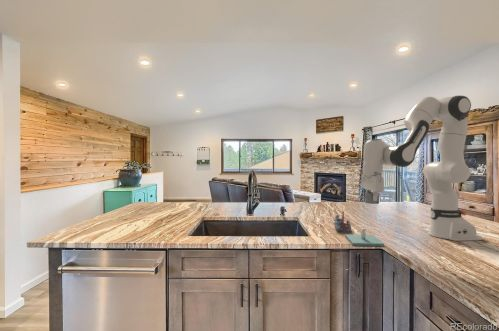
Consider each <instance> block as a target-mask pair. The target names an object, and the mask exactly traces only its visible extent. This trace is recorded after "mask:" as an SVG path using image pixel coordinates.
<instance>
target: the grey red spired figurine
mask: <svg viewBox="0 0 499 331" xmlns="http://www.w3.org/2000/svg"><path fill="white" fill-rule="evenodd" d="M344 214H345V211H342V216H341V217H340V215H339V214H335V217H334V221H333V225H334V227H333V228H334V229H335V230H337V231H338V232H339V233H351V231H352V226H351V223H350V220H347V221H346V222H345V217H344V216H345V215H344Z"/></svg>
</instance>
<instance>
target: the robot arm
mask: <svg viewBox="0 0 499 331" xmlns="http://www.w3.org/2000/svg"><path fill="white" fill-rule="evenodd" d="M471 108H472V103H471V100H470V98H469V97H468V96H466V95H454V96H447V97H442V98H439V99H438V98H436V97H433V96H426V97H423V98H421V99H420V100H419V101H418V102H416V103H415V104H414V105H413V107H412V108H411V110H409V112H408V113H407V114H406V116H405V117H404V120H403V123H404V126H405V128H406V129H407V130H408V131H409V132H410V133H409V135H408V136H407V138H405V141H404V142H403V143H401V144H399V145H389V144H388V143H386V142H384V141H383V140H382V138H376V139H369V140H366V141H365V143H364V147H363V165H362V169H361V170H360V175H361V188H362V189H365V192H373V197H372V200H373V201H377V197H378V194H379V195H380V193H381V194H382V193H384V191H385V182H384V181H385V180H384V177H383V174H384V173H383V172H384V166H391V167H400V168H403V167H404V168H407V167H409V166H410V165H411V164H412V163H414V160H415V157H416V154H417V152H418V150H419V148H420V146H421V145H422V143H423V141H424V139H425V138H426V136H427V134H428V132H429V130H430V125H431V123H432V121H433V122H435V121H441V122H442V126H441V128H440V129H441V130H440V132H439V137H438V141H437V146H436V149H437V152H438V153H439V156H440V160H439V161H432V162H429V163H427V164H426V165H424V167H423V170H422V174H423V176H424V178H426V180H427V182H428V183H427V184H428V185H429V189H430V193H431V207H430V225H429V229H428V232H427V235H429V236H432V237H435V238H440V239H445V240H450V241H453V242H454V241H455V242H458V241H459V242H460V241H483V239H484V238H483V237H482V236H481V235H479V234H477V229H476V227H475V225H474V224H472V223H471V222H469V221H468V220H466V219H465V218H464V217H463V216H466V215H468V213H467V211H465V210H459V195H458V193H457V191H456V190H455V189H454V188H453V187H454V186H453V185H452V184H459V183H465V182H466V181H467V180H468V179H469V178H470V177H471V170H470V168H469V166H468V165H467V164H466V162H465V157H464V156H465V155H464V152H465V151H464V150H465V144H466V139H467V135H468V122H469V121H468V118H467V116H468V115H469V113H470V112H471Z"/></svg>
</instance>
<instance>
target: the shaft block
mask: <svg viewBox="0 0 499 331" xmlns="http://www.w3.org/2000/svg"><path fill="white" fill-rule="evenodd" d="M366 231H367V230H366V228H364V227H363V228H360V234H344V237H345V239H346V240H347V241H348V242H349V243H350V244H351V246H354V247H355V246H357V247H358V246H359V247H360V246H361V247H363V246H364V247H385V243H384V242H382V241H381V240H380V239H379V238H377V237H376V236H375V235H374V234H366Z"/></svg>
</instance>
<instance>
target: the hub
mask: <svg viewBox="0 0 499 331" xmlns="http://www.w3.org/2000/svg"><path fill="white" fill-rule="evenodd" d="M372 197H373V191H371V192H366V191H365V192H364V203H365V204H371V205H372V204H373V205H374V204H375V205H379V204H380V193H379V194H378V197H377V201H373V200H372Z"/></svg>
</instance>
